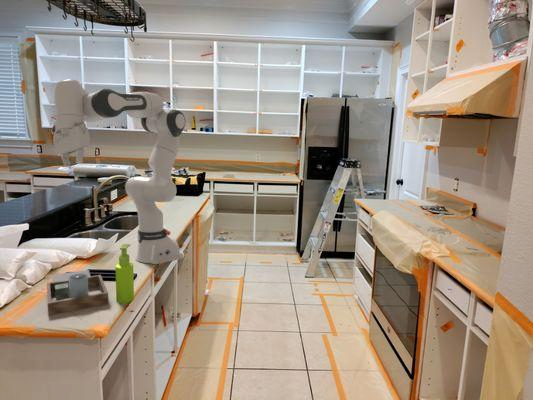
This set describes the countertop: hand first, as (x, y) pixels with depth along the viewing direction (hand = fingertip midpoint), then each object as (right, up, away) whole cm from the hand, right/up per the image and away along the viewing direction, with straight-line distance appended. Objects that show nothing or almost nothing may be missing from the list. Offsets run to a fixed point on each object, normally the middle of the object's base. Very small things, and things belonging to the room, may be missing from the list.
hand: (73, 165), depth 126 cm
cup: (+1, -48, +1) cm, 48 cm away
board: (-10, -44, +18) cm, 49 cm away
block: (-6, -47, +4) cm, 48 cm away
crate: (0, -48, +3) cm, 48 cm away
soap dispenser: (+17, -48, +4) cm, 51 cm away
